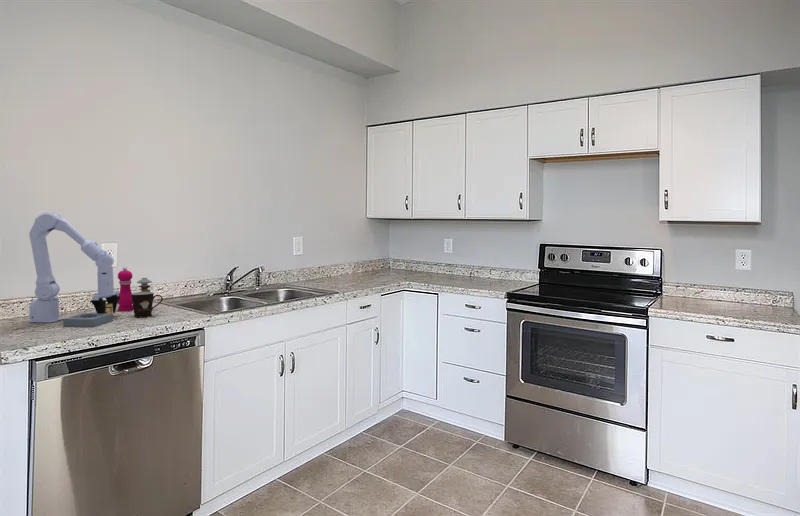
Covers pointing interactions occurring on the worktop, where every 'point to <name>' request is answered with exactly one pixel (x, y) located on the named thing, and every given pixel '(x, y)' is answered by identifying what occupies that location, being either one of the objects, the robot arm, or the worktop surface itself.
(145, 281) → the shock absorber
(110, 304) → the cylinder
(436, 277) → the worktop surface
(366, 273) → the worktop surface
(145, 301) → the coffee mug
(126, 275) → the pepper mill
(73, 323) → the bore block
